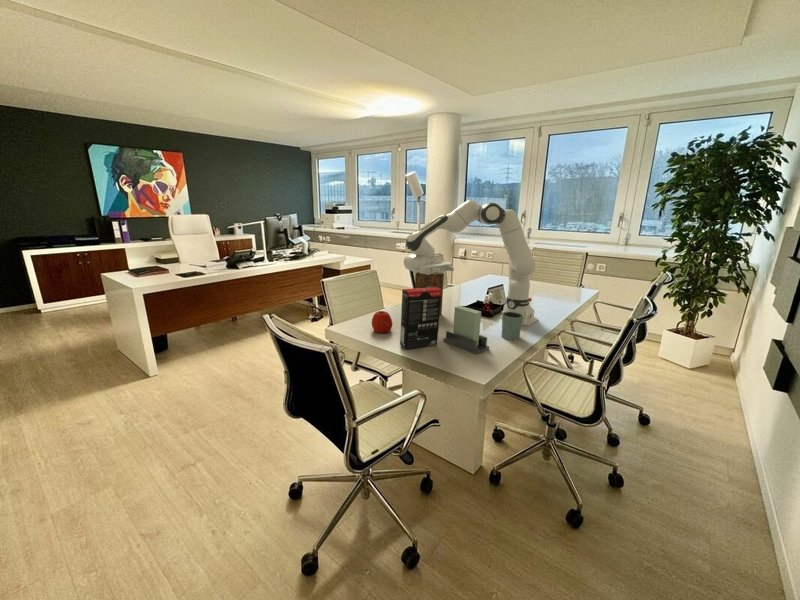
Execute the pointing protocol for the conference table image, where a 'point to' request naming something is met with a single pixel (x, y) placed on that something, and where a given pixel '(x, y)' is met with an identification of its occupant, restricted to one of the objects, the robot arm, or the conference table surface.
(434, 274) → the book
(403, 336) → the graphics card box
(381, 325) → the apple
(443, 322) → the conference table surface
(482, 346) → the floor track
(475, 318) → the green upright rectangular block
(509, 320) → the green embossed cup
